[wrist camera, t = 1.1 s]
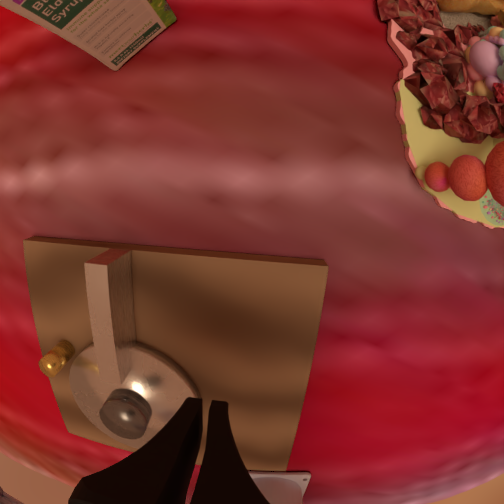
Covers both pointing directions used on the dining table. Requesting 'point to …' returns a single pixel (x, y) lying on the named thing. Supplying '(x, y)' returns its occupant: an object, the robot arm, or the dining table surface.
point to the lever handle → (123, 361)
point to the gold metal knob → (56, 358)
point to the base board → (196, 331)
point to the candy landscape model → (452, 100)
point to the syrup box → (100, 24)
